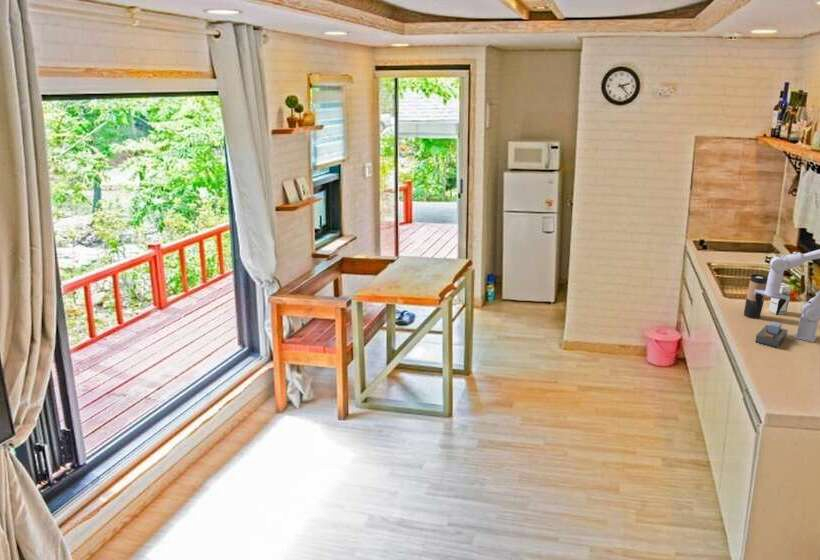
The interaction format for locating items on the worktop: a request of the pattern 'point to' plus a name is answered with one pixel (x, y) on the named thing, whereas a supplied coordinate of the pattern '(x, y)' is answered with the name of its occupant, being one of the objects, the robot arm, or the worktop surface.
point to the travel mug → (751, 303)
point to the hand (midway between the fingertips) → (767, 312)
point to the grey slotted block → (771, 337)
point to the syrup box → (784, 290)
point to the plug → (774, 327)
